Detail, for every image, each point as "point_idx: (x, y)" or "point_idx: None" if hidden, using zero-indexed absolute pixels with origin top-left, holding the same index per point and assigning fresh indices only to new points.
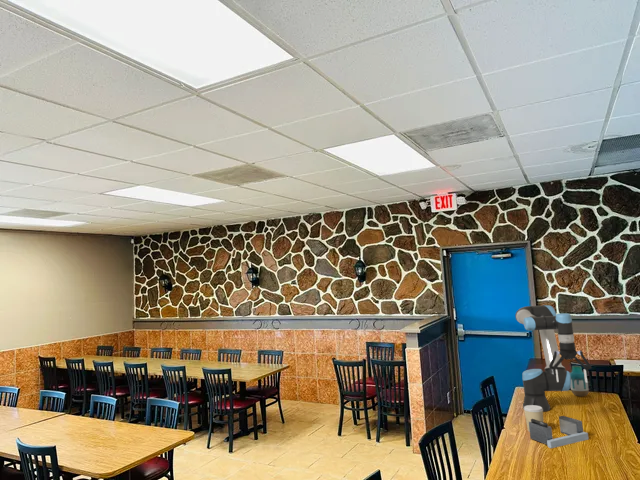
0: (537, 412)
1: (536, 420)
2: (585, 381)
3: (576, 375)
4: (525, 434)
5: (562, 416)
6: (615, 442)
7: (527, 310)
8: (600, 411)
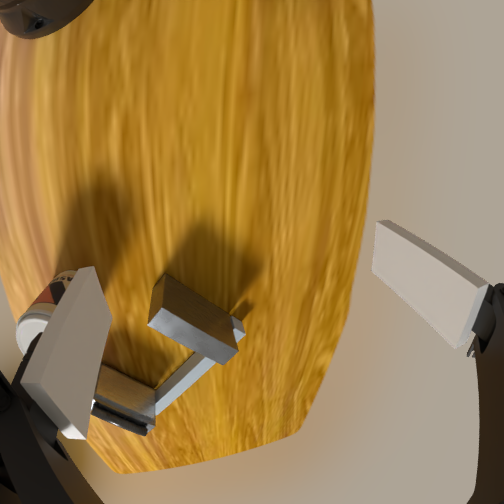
0: None
1: (110, 422)
2: (376, 257)
3: None
4: None
5: (161, 319)
6: (309, 317)
7: None
8: None
